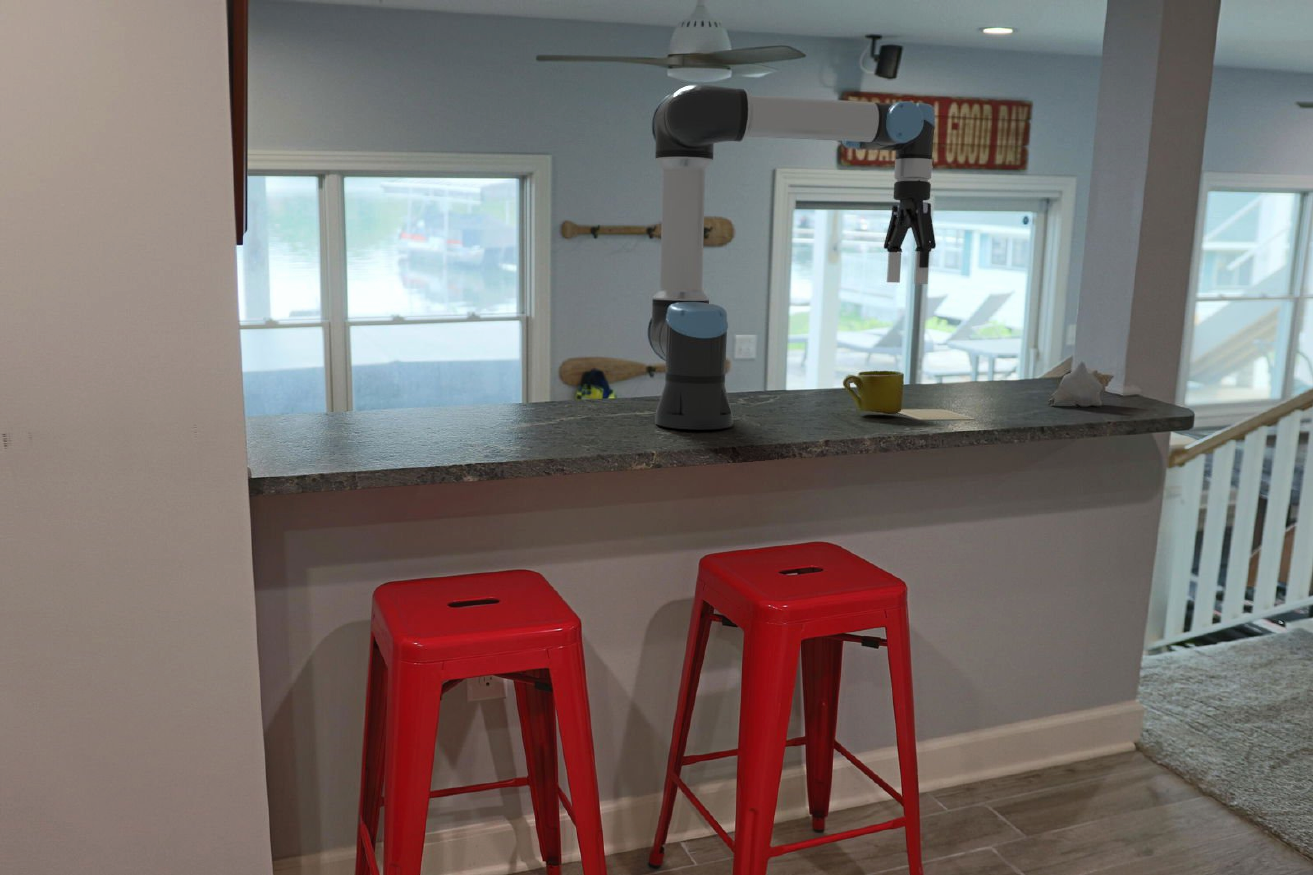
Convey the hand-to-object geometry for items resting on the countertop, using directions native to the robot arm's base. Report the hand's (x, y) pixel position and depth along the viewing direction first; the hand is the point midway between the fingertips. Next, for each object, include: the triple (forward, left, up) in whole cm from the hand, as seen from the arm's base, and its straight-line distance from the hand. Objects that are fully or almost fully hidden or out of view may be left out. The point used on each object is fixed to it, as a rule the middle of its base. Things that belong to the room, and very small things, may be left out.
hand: (906, 283), depth 235 cm
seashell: (+38, -1, -29) cm, 48 cm away
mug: (-10, -11, -27) cm, 31 cm away
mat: (+3, -11, -27) cm, 29 cm away
